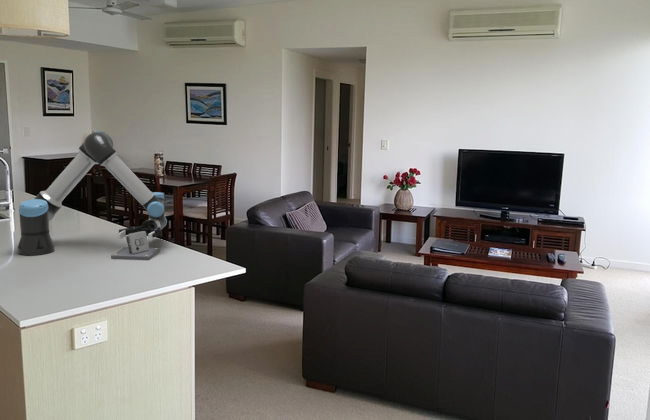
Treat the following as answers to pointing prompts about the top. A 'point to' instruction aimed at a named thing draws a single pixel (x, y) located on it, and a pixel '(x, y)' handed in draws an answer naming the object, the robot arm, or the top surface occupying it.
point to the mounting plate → (138, 256)
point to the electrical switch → (137, 242)
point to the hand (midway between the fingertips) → (134, 236)
